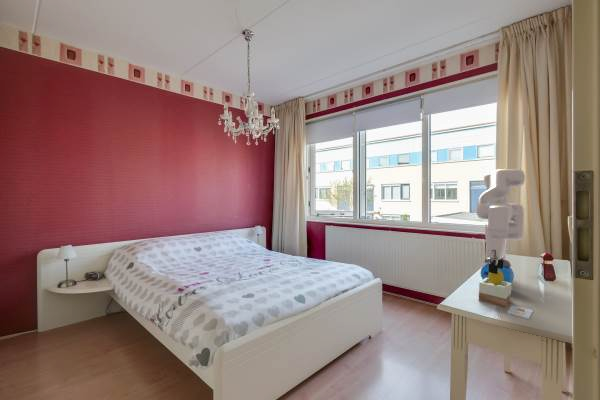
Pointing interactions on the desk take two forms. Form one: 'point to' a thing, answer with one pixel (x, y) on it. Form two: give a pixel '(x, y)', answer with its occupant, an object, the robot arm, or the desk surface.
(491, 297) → the base brick
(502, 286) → the top brick
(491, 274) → the lemon
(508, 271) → the alarm clock
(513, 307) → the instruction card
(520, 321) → the desk surface
